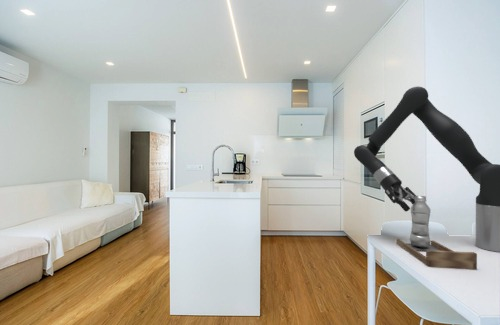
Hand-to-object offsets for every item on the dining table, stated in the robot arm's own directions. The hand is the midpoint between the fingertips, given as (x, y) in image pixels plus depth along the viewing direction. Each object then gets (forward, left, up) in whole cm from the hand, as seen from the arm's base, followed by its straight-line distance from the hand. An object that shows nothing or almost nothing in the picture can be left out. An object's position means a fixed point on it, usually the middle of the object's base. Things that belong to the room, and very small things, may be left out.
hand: (414, 209), depth 96 cm
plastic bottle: (-1, +1, -15) cm, 15 cm away
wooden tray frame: (-1, +9, -15) cm, 17 cm away
